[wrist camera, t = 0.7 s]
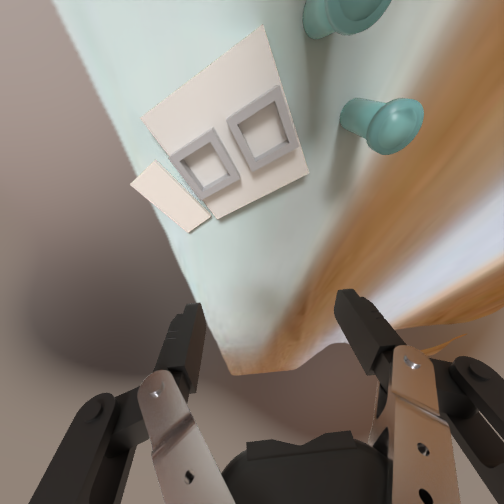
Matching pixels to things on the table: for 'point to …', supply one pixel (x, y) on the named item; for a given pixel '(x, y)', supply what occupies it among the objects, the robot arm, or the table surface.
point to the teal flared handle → (341, 16)
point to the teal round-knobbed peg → (383, 122)
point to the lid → (170, 196)
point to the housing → (231, 128)
